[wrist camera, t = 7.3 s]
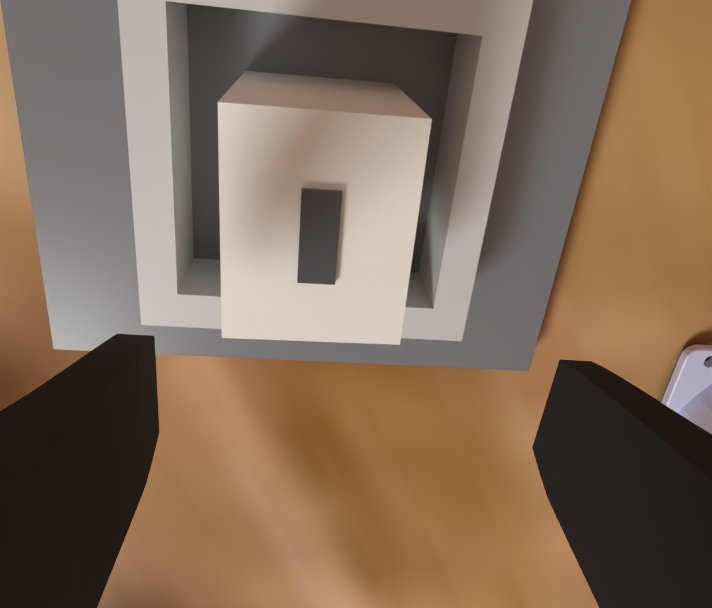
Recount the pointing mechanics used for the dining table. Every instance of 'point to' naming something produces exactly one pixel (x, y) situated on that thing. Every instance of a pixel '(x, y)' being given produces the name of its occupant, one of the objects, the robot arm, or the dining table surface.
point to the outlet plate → (318, 59)
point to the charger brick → (318, 207)
